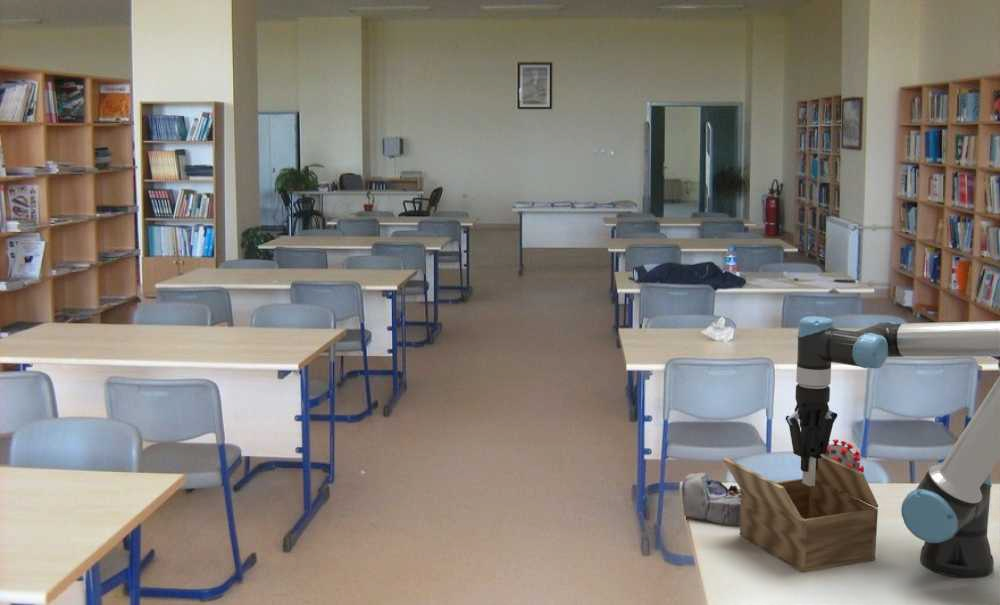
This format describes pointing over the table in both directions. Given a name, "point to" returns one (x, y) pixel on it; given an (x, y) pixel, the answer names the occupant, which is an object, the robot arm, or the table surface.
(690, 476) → the cell model
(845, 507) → the carton
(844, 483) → the right flap
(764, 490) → the left flap
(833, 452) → the virus model
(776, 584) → the table surface
